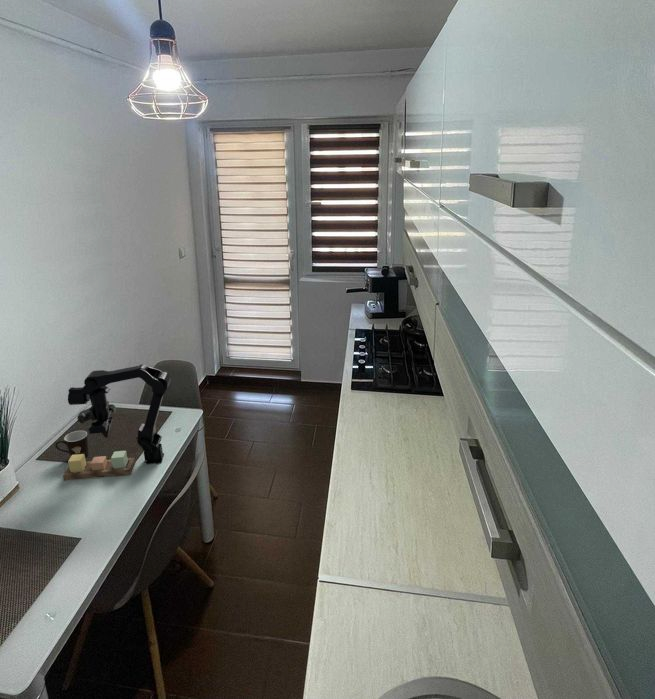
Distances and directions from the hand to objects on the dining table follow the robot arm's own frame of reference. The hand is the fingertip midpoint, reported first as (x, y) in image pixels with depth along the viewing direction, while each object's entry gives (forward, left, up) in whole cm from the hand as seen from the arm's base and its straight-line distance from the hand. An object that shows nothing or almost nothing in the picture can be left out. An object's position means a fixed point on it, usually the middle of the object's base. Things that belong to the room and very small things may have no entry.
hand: (106, 437), depth 198 cm
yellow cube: (+10, +6, -10) cm, 16 cm away
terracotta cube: (+2, +6, -11) cm, 13 cm away
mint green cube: (-6, +6, -10) cm, 13 cm away
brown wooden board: (+3, +6, -12) cm, 14 cm away
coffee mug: (+16, -6, -12) cm, 21 cm away
